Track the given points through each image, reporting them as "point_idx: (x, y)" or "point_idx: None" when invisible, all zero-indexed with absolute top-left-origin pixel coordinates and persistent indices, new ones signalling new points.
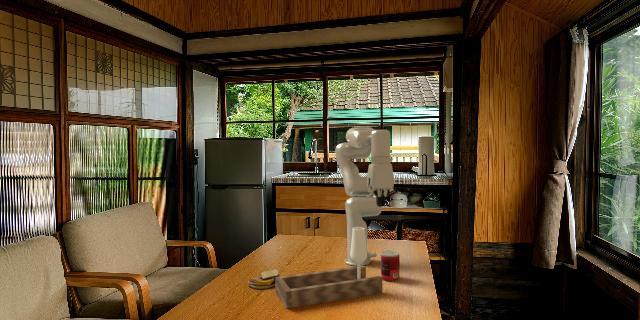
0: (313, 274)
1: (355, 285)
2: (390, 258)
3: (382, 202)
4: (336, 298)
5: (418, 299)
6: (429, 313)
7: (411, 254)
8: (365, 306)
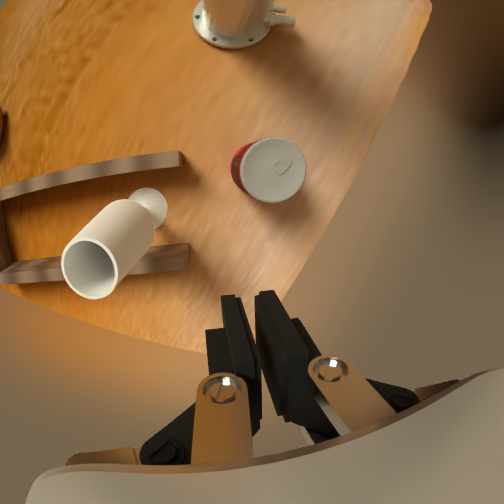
0: (32, 191)
1: None
2: (257, 199)
3: (263, 364)
4: None
5: (249, 304)
6: None
7: (390, 43)
8: (132, 307)
